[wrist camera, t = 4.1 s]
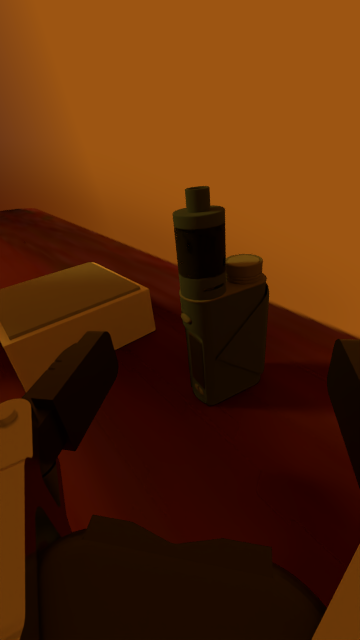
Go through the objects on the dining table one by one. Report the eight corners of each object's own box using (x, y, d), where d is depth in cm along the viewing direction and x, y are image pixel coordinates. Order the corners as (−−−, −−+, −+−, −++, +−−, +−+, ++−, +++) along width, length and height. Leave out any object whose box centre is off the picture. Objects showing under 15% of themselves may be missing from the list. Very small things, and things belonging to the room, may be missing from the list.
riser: (26, 393, 20) (1, 343, 18) (-2, 333, 28) (-22, 294, 25) (155, 330, 25) (148, 286, 23) (101, 295, 33) (92, 259, 31)
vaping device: (182, 387, 19) (158, 190, 13) (246, 358, 21) (250, 175, 15) (203, 413, 17) (186, 194, 11) (271, 379, 19) (288, 176, 13)
